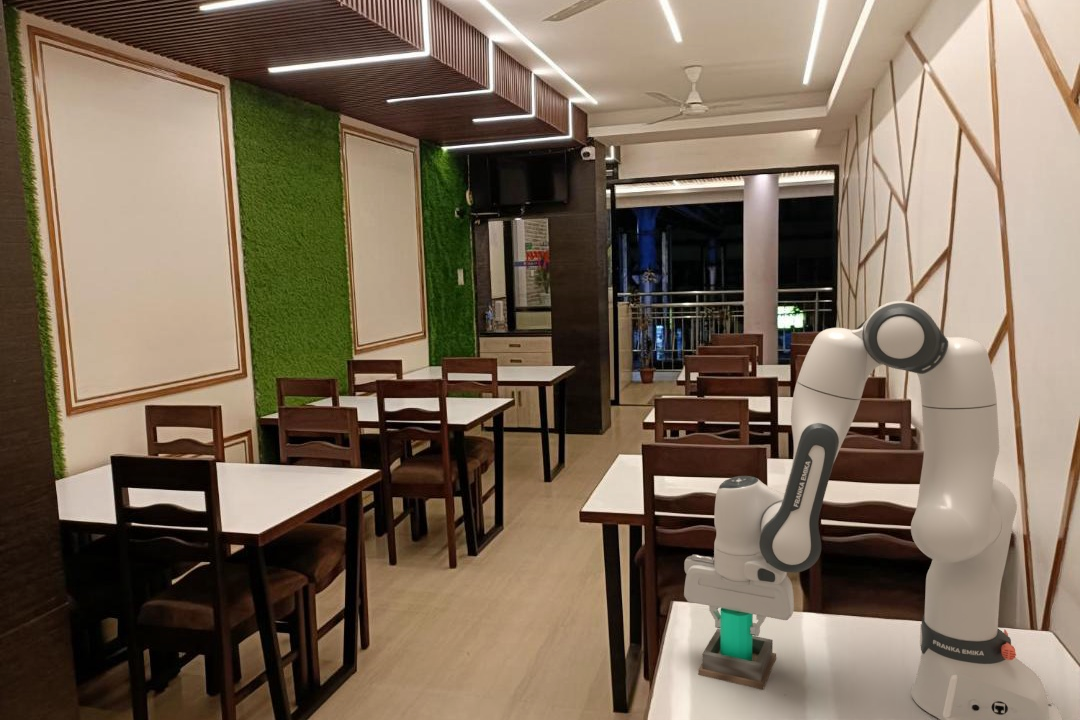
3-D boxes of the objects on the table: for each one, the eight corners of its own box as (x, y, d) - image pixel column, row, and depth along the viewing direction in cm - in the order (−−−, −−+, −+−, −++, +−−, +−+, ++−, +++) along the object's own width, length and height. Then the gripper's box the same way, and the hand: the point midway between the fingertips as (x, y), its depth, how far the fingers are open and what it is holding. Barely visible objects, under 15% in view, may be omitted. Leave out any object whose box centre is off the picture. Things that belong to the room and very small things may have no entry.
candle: (745, 672, 144) (746, 611, 142) (715, 662, 147) (715, 603, 146) (757, 657, 149) (757, 599, 147) (727, 649, 152) (727, 591, 150)
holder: (776, 658, 150) (776, 638, 150) (763, 689, 140) (763, 668, 139) (715, 645, 156) (715, 626, 155) (698, 674, 145) (698, 654, 145)
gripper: (679, 558, 147) (679, 626, 149) (790, 577, 137) (788, 649, 139) (689, 547, 152) (689, 613, 154) (796, 564, 143) (794, 634, 145)
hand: (737, 630), depth 147 cm, fingers open, 5 cm apart
